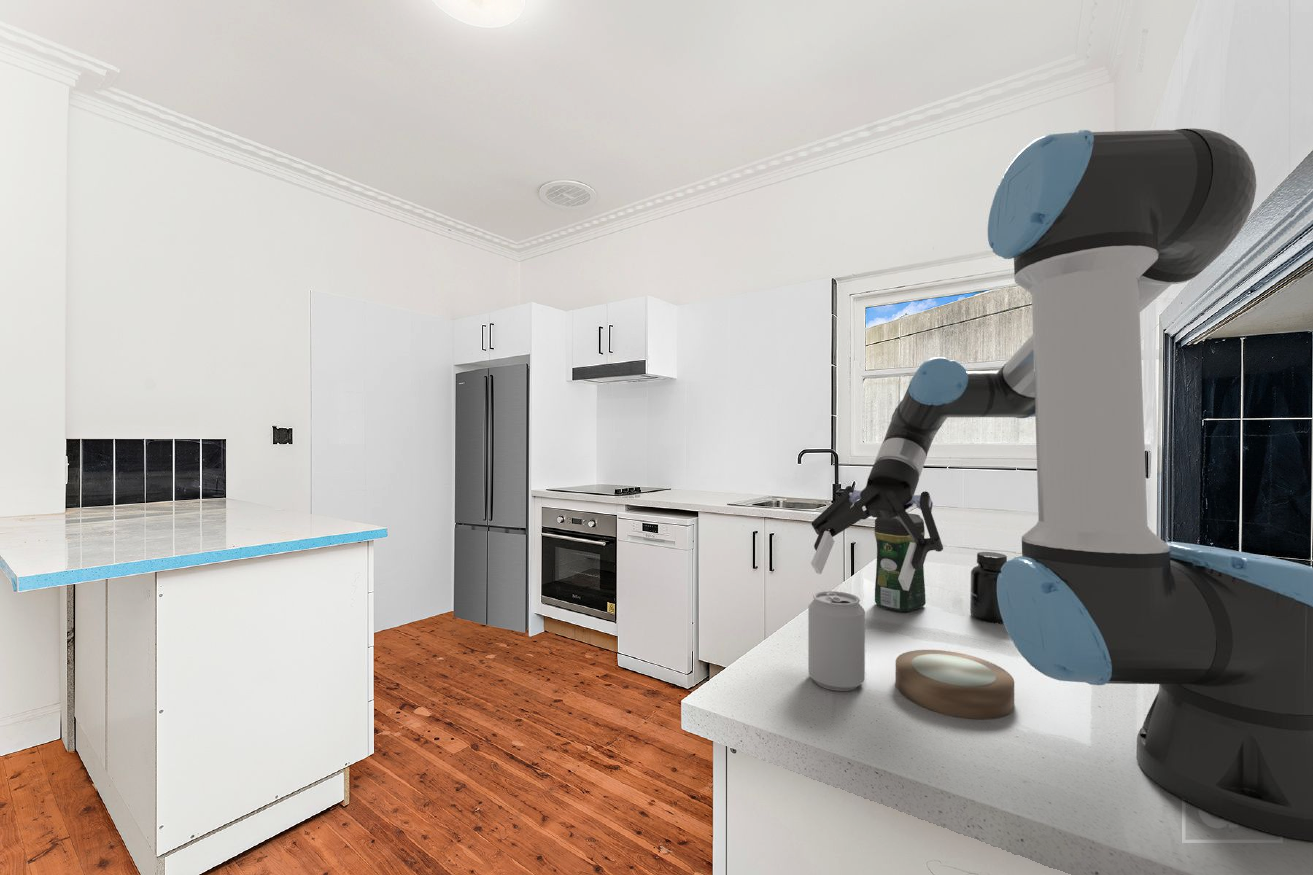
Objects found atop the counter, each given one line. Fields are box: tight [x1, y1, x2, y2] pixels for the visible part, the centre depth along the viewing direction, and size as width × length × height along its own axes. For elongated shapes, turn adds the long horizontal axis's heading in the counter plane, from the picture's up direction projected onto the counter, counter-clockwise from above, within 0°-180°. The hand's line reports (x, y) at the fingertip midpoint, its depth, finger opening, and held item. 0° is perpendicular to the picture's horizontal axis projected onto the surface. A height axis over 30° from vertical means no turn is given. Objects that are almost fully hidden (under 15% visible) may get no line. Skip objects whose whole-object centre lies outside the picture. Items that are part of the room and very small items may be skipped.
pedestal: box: [894, 649, 1015, 720], centre depth 75 cm, size 14×14×3 cm
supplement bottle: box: [969, 551, 1008, 625], centre depth 105 cm, size 7×7×12 cm
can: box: [807, 590, 866, 692], centre depth 79 cm, size 8×8×12 cm
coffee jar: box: [874, 512, 926, 613], centre depth 112 cm, size 10×8×19 cm
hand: (857, 576), depth 85 cm, fingers open, 13 cm apart
